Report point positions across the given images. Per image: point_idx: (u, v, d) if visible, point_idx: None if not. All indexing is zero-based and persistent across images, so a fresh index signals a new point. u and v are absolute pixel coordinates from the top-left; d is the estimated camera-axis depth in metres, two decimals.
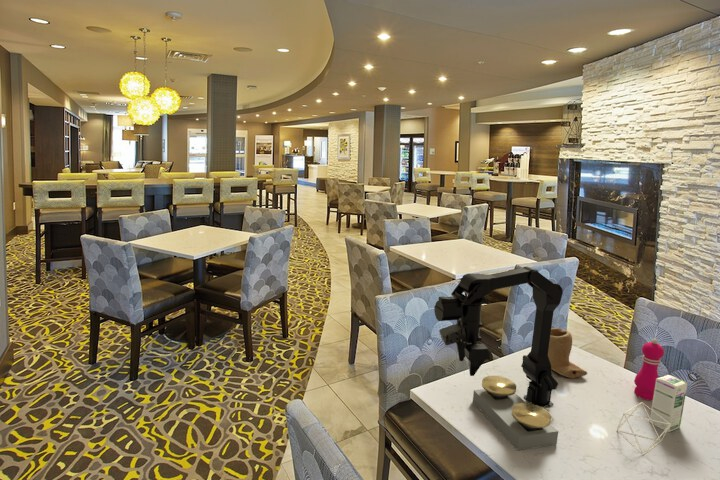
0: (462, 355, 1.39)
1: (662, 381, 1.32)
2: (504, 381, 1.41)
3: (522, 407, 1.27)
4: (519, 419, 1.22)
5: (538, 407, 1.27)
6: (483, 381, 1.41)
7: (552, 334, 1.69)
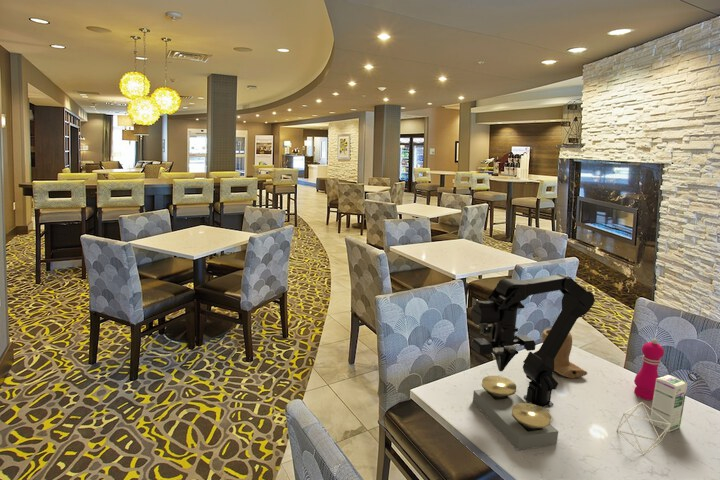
0: None
1: (662, 381, 1.32)
2: (504, 381, 1.41)
3: (522, 407, 1.27)
4: (519, 419, 1.22)
5: (538, 407, 1.27)
6: (483, 381, 1.41)
7: None
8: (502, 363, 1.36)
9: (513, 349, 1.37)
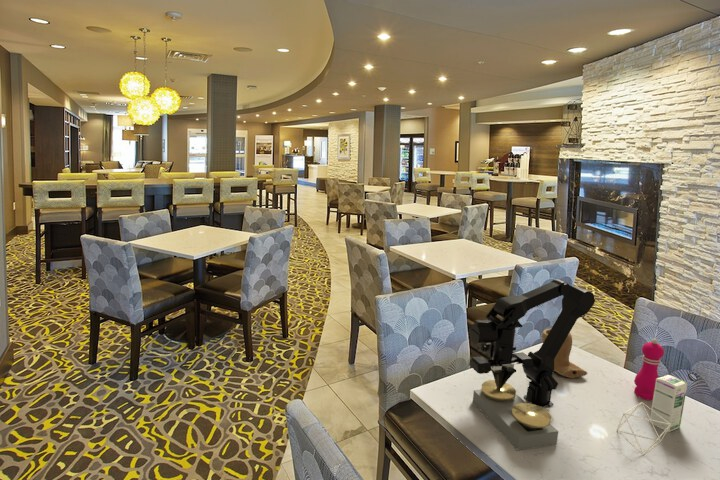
0: None
1: (662, 381, 1.32)
2: (503, 386, 1.41)
3: (522, 407, 1.27)
4: (519, 419, 1.22)
5: (538, 407, 1.27)
6: (483, 386, 1.41)
7: None
8: (500, 381, 1.38)
9: (511, 367, 1.38)
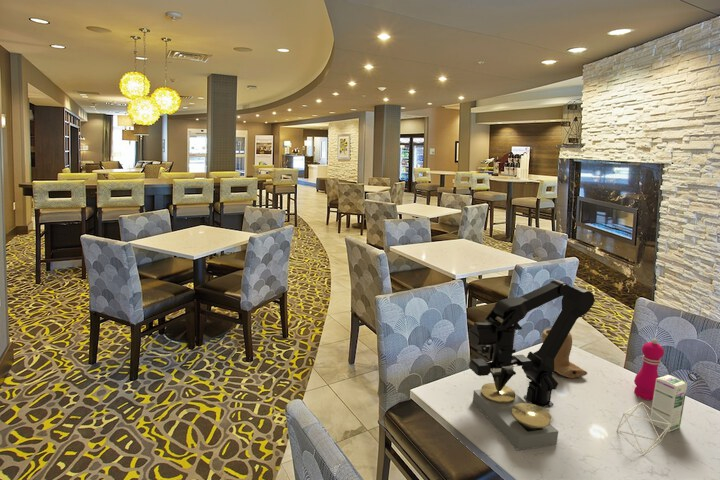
0: None
1: (662, 381, 1.32)
2: (503, 388, 1.42)
3: (522, 407, 1.27)
4: (519, 419, 1.22)
5: (538, 407, 1.27)
6: (482, 388, 1.41)
7: None
8: (500, 383, 1.38)
9: (511, 369, 1.38)
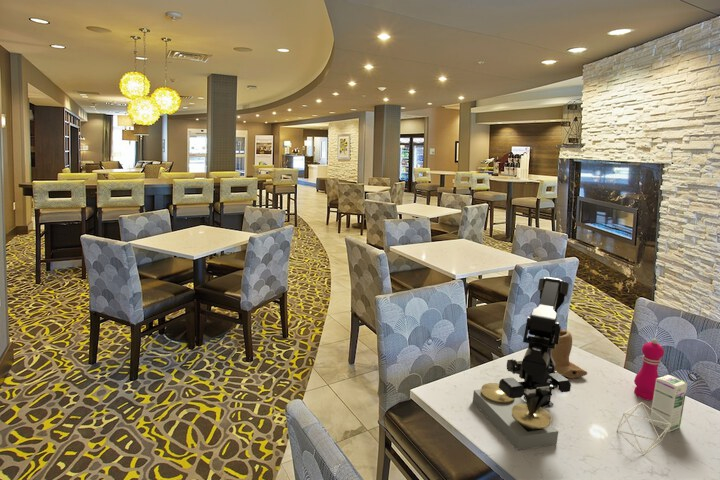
0: None
1: (662, 381, 1.32)
2: None
3: (522, 408, 1.27)
4: (519, 420, 1.22)
5: None
6: (482, 388, 1.41)
7: None
8: (534, 406, 1.22)
9: (546, 390, 1.23)
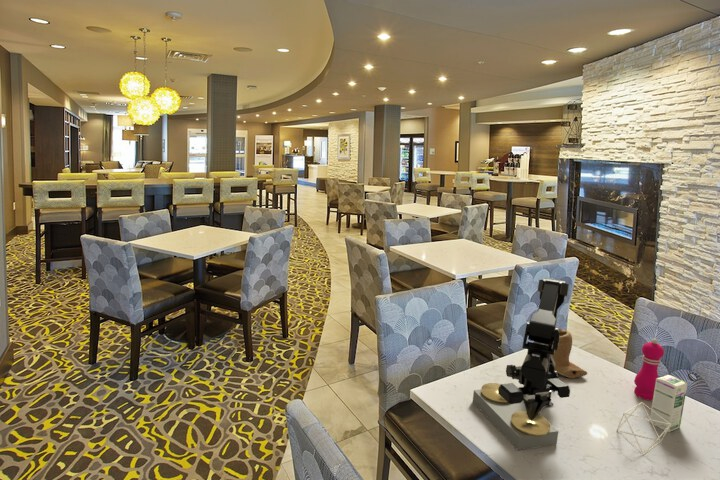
0: None
1: (662, 381, 1.32)
2: None
3: (521, 416, 1.27)
4: (518, 427, 1.22)
5: (537, 415, 1.28)
6: (482, 388, 1.41)
7: None
8: (533, 411, 1.22)
9: (545, 396, 1.23)
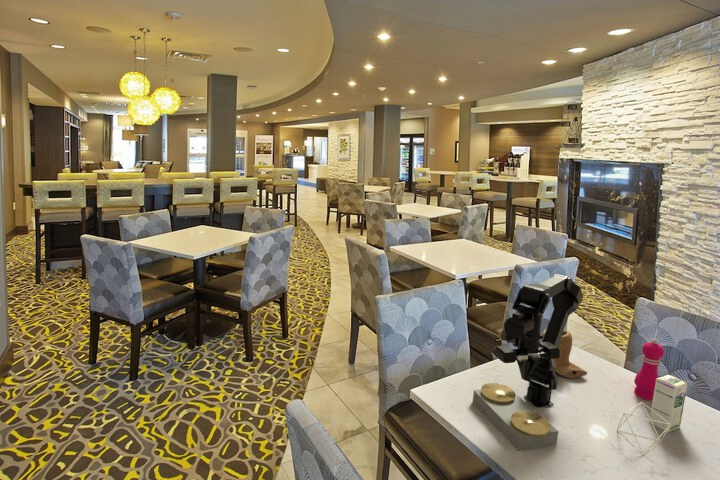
0: None
1: (662, 381, 1.32)
2: (503, 388, 1.42)
3: (521, 416, 1.27)
4: (518, 427, 1.22)
5: (537, 415, 1.28)
6: (482, 388, 1.41)
7: None
8: (526, 371, 1.32)
9: (537, 357, 1.32)
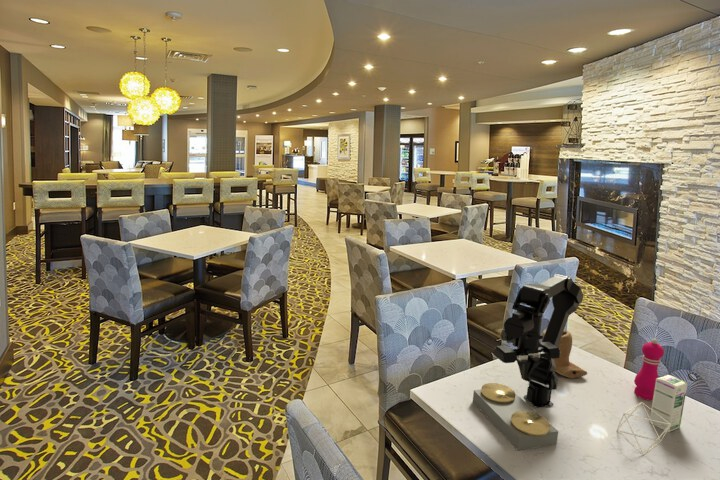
0: None
1: (662, 381, 1.32)
2: (503, 388, 1.42)
3: (521, 416, 1.27)
4: (518, 427, 1.22)
5: (537, 415, 1.28)
6: (482, 388, 1.41)
7: None
8: (526, 371, 1.32)
9: (537, 357, 1.32)
